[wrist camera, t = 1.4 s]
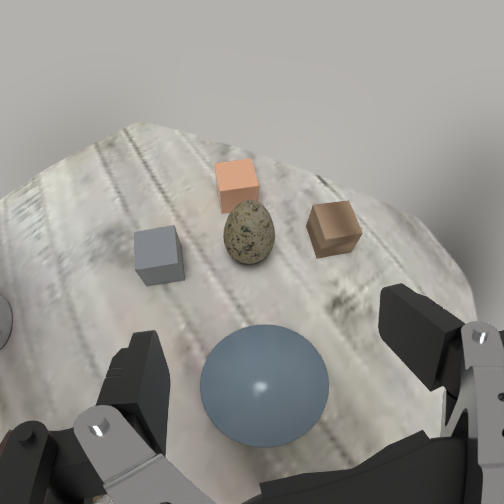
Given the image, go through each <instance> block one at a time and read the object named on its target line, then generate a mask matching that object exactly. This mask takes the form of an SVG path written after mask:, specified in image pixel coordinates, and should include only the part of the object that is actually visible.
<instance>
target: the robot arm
mask: <svg viewBox="0 0 504 504" xmlns="http://www.w3.org/2000/svg"><path fill="white" fill-rule="evenodd" d="M11 326H12V312H11V308H10V305H9V303H8V301H7V300H6V299H5V298H4V297H3V296H1V295H0V349H1V348H2V347H3V346H4V344H5V343H6V341H7V339H8V337H9V335H10V331H11ZM378 328H379V333H380V336H381V338H382V340H383V341H384V342H385V343H386V344H387V345H388V346H389V347H390V348H391V349H392V351H393V352H394V353H395V354H396V355H397V356H398V357H399V358H400V359H401V360H402V361H403V362H404V363H405V364H406V366H407V367H408V368H409V369H410V370H411V371H412V372H413V373H414V374H415V375H416V376H417V377H418V379H419V380H420V381H421V382H422V383H423V384H424V385H425V386H426V387H427V388H428V390H429V391H430V392H431V391H433V390H435V389H437V388H439V387H441V386H444V387H445V390H444V393H443V403H442V421H441V434H440V437H438V438H431V439H429V437H428V436H427V435H426V434H425V432H424V431H423V430H421V431H419V432H417V433H415V434H413V435H411V436H409V437H406V438H404V439H402V440H400V441H397V442H395V443H393V444H390V445H388V446H387V447H385V448H384V449H382V450H381V451H380V452H378V453H377V454H375V455H374V456H372V457H371V458H369V459H367V460H366V461H364V462H363V463H361V464H360V465H358V466H356V467H354V468H352V469H347V470H338V471H328V472H316V473H303V474H299V475H295V476H291V477H287V478H282V479H278V480H273V481H268V482H263V483H260V488H261V492H262V494H260V495H258V496H255V497H253V498H251V499H249V500H247V501H245V502H243V503H242V504H504V330H503V331H498V330H497V329H496V328H495V327H493V326H492V325H490V324H488V323H485V322H478V321H475V322H469V323H467V324H465V323H464V322H462V321H461V320H459V319H458V318H457V317H455V316H454V315H452V314H451V313H450V312H448V311H447V310H445V309H443V307H441V306H440V305H438V304H436V303H435V302H434V301H432V300H431V299H430V298H428V297H426V296H423V295H421V294H418V293H416V292H414V291H413V290H411V289H410V288H408V287H407V286H405V285H404V284H402V283H400V284H396V285H392V286H388V287H384V288H383V289H382V290H381V294H380V309H379V323H378ZM169 394H170V374H169V369H168V366H167V363H166V360H165V357H164V353H163V350H162V347H161V344H160V341H159V337H158V335H157V332H156V331H155V330H152V331H144V332H136V333H133V335H132V338H131V341H130V344H129V347H128V348H122V349H121V350H120V351H119V352H118V353H117V354H116V355H115V356H114V357H113V358H112V361H111V363H110V366H109V370H108V372H107V374H106V378H105V380H104V383H103V386H102V388H101V391H100V394H99V397H98V400H97V403H96V406H94V407H91V408H89V409H87V410H85V411H84V412H82V413H81V414H80V415H79V416H78V417H77V419H76V421H75V423H74V428H71V429H66V430H62V431H57V432H53V433H50V432H49V431H48V429H47V428H46V426H45V425H44V424H43V423H41V422H38V421H27V422H24V423H22V424H20V425H18V426H17V427H16V428H15V429H14V430H13V431H12V432H11V434H10V436H9V438H8V440H7V443H6V445H5V448H4V450H3V452H2V455H1V458H0V504H44V502H45V504H93V498H94V497H96V496H100V495H105V494H108V495H109V496H110V498H111V499H112V500H113V502H114V503H115V504H216V503H215V502H214V501H212V500H211V499H210V498H209V497H208V496H206V495H205V494H204V493H203V492H202V491H201V490H199V489H198V488H197V487H196V486H195V485H194V484H193V483H192V482H191V481H189V480H188V479H187V478H186V477H185V476H184V475H183V474H182V473H181V472H180V471H179V470H178V469H177V468H176V467H175V466H174V465H173V464H172V463H171V462H169V461H168V460H167V459H166V458H165V455H166V436H167V421H168V407H169ZM47 490H48V492H47ZM46 492H47V496H46ZM45 497H46V501H45Z"/></svg>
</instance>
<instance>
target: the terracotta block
mask: <svg viewBox="0 0 504 504" xmlns="http://www.w3.org/2000/svg"><path fill="white" fill-rule="evenodd" d="M215 171H216V182H217V190H218V196H219V201H220V207H221V213H222V214H223V213H229V212H231V211H232V210H233V209H234V208H235V207H236V206H237V205H238V204H239V203H241V202H243V201H245V200H255V201H257V202H258V191H259V184H258V181H257V177H256V174H255V170H254V167H253V163H252V159H244V160H236V161H228V162H221V163H215Z"/></svg>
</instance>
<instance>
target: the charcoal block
mask: <svg viewBox="0 0 504 504" xmlns="http://www.w3.org/2000/svg"><path fill="white" fill-rule="evenodd" d="M134 249H135V271H136V272H137V273H138V275H139V276H140V278H141V279H142V281H143V282H144V283H145V285H146V286H151V285H158V284H164V283H171V282H177V281H183V280H185V277H184V268H183V258H182V249H181V243H180V241H179V238H178V235H177V232H176V229H175V226H174V225H173V226H167V227H161V228H156V229H150V230H144V231H139V232H134Z"/></svg>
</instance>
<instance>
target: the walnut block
mask: <svg viewBox="0 0 504 504" xmlns="http://www.w3.org/2000/svg"><path fill="white" fill-rule="evenodd" d="M306 227H307V230H308V233H309V236H310V239H311V242H312V245H313V249H314V252H315V255H316V258H322V257H328V256H333V255H339V254H344V253H350V252H351V251H352V250H353V248H354V247H355V245H356V243H357V242H358V240H359V239H360V237H361V235H362V234H363V233H362V231H361V228H360V226H359V223H358V221H357V218H356V216H355V214H354V211H353V209H352V207H351V204H350V202H349V201H341V202H333V203H325V204H317V205H313V207H312V210H311V213H310V216H309V219H308V222H307V225H306Z"/></svg>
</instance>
